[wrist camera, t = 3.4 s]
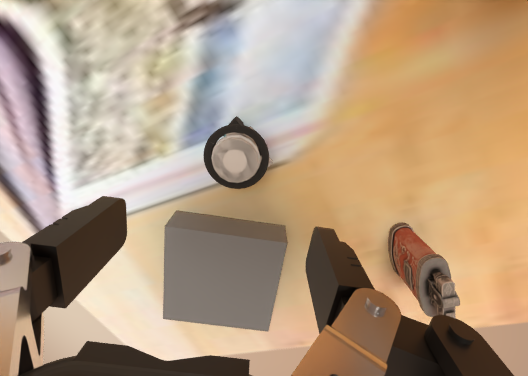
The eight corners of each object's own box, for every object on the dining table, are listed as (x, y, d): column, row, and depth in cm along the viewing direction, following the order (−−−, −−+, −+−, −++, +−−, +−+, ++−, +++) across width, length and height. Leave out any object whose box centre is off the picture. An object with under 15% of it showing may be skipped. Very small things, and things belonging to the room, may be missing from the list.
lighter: (385, 225, 33) (431, 278, 24) (412, 219, 33) (469, 271, 24) (391, 275, 36) (434, 339, 27) (416, 269, 36) (469, 333, 26)
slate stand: (285, 225, 34) (287, 242, 30) (268, 307, 38) (268, 331, 35) (176, 210, 33) (164, 226, 29) (173, 296, 38) (163, 318, 34)
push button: (286, 146, 30) (295, 172, 20) (254, 177, 31) (249, 215, 22) (243, 103, 28) (232, 111, 19) (211, 139, 30) (186, 162, 20)
